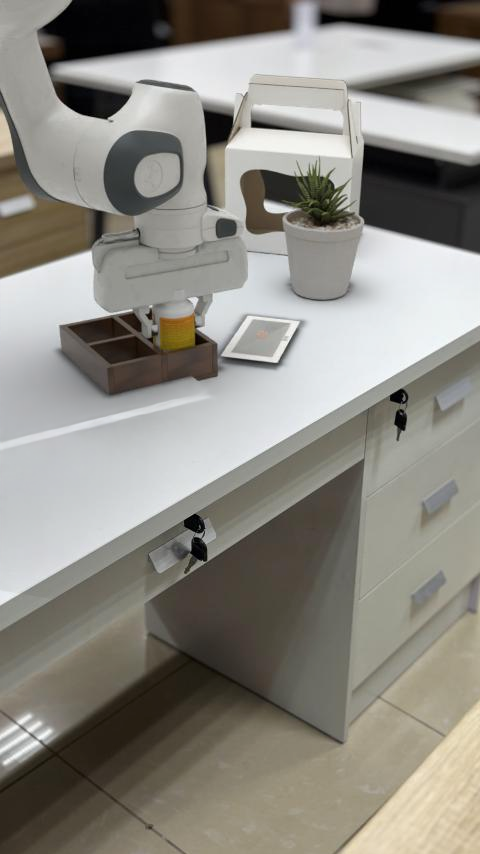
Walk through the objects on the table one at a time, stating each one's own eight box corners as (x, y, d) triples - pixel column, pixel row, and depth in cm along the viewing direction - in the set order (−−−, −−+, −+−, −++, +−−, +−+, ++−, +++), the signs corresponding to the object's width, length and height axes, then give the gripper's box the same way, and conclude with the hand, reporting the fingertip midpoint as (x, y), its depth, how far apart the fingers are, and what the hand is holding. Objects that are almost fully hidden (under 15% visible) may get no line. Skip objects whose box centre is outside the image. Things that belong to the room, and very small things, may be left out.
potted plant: (373, 284, 155) (384, 158, 145) (339, 311, 145) (347, 177, 134) (304, 270, 160) (310, 147, 149) (266, 295, 150) (269, 165, 139)
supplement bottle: (203, 358, 124) (202, 286, 119) (171, 369, 121) (169, 296, 116) (177, 345, 127) (175, 275, 122) (145, 356, 124) (142, 284, 119)
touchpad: (220, 363, 128) (220, 348, 127) (247, 322, 140) (248, 308, 139) (277, 370, 126) (277, 355, 125) (299, 328, 139) (300, 314, 138)
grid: (109, 402, 117) (107, 368, 115) (62, 357, 128) (58, 325, 125) (218, 375, 124) (217, 343, 122) (164, 335, 135) (163, 304, 133)
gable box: (223, 249, 168) (222, 79, 153) (242, 228, 179) (243, 67, 164) (347, 261, 165) (358, 88, 150) (358, 239, 176) (370, 75, 160)
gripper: (101, 243, 108) (109, 355, 115) (255, 219, 117) (253, 325, 125) (79, 228, 112) (88, 337, 120) (229, 207, 122) (229, 309, 129)
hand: (174, 331), depth 122 cm, fingers closed on supplement bottle, 5 cm apart
